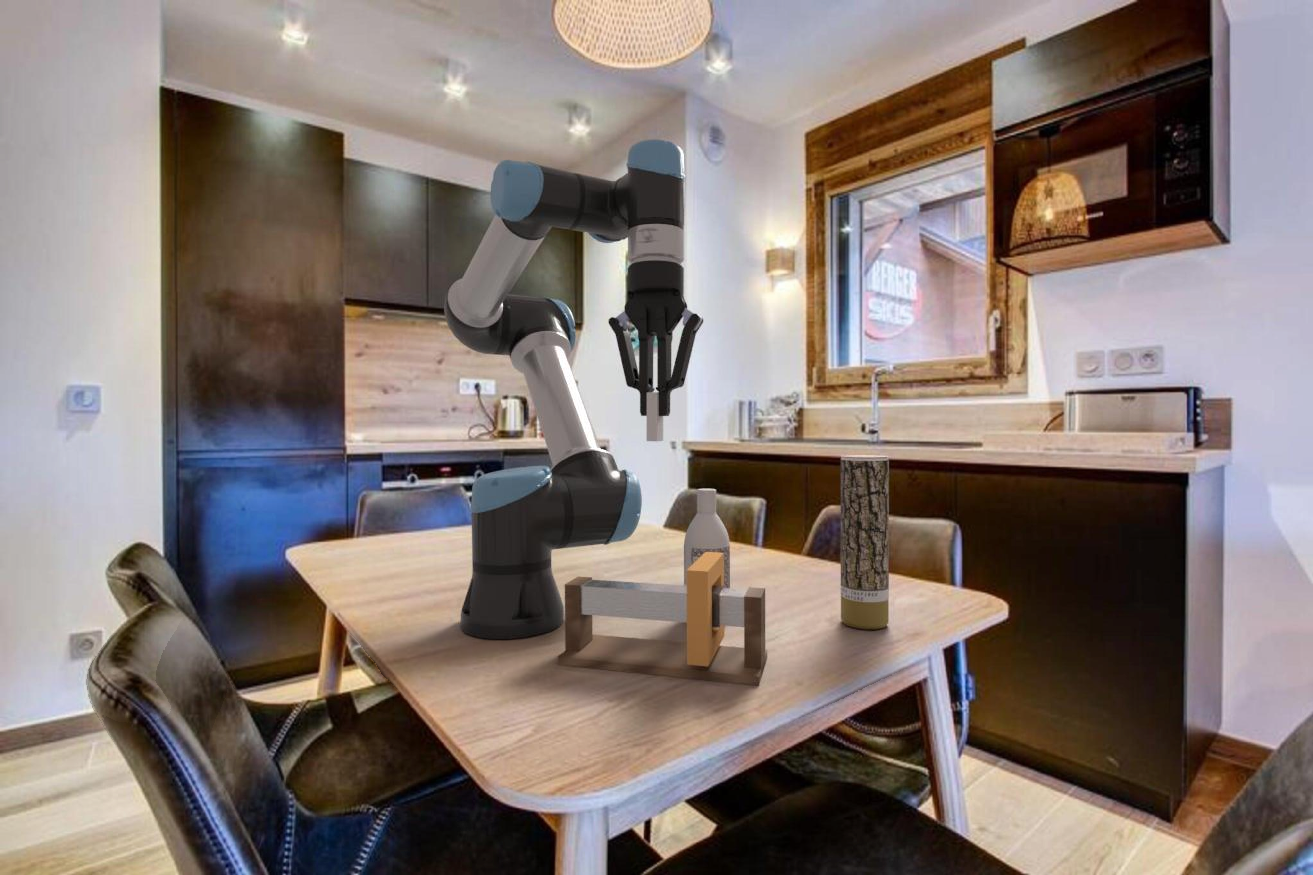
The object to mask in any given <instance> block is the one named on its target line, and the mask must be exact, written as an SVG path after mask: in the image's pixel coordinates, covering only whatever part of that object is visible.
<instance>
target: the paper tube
mask: <svg viewBox="0 0 1313 875" xmlns="http://www.w3.org/2000/svg"><path fill="white" fill-rule="evenodd" d="M889 466H890V460H889V455H878V454H877V455H873V454H871V455H870V454H858V455H857V454H856V455H855V454H852V455H850V454H847V455H841V457H840V620H841V621H842V623H843V624H844V625H846V626H849V627H851V628H854V629H860V630H869V631H870V630H881V629H883V628H885V627H886V626H887V625H888V624H889V616H890V615H889V612H890V611H889V604H890V603H889V602H890V601H889V599H890V593H889V592H890V591H889V590H890V582H889V581H890V578H889V577H890V574H889V573H890V571H889V570H890V569H889V568H890V562H889V561H890V560H889V558H890V551H889V550H890V548H889V547H890V543H889V542H890V538H889V537H890V520H889V519H890V518H889V517H890V513H889V512H890V467H889Z"/></svg>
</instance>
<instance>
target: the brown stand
mask: <svg viewBox="0 0 1313 875" xmlns="http://www.w3.org/2000/svg"><path fill="white" fill-rule="evenodd" d="M589 580H593V577H591V576H576V577H574V578H573V579H571V580H570V581H567V583H565V584H564V635H565V637H564V639H565V642H564V646H565V647H564V648H565V650H564V651H563V652H561V653H560V654H559V655H558V656H557V665H560V666H569V667H578V668H587V669H596V670H597V669H598V670H606V671H607V670H609V671H615V672H616V671H617V672H626V673H635V674H636V673H637V674H644V675H645V674H646V675H654V676H664V677H675V678H685V679H693V680H694V679H695V680H705V681H713V682H714V681H715V682H723V683H733V684H744V685H752V686H760V685H761V684H760V683H761V680H762V678H763V674H764V670H765V667H766V664H767V661H768V660H767V659H768V649H766V588H764V587H751V586H749V587H748V589H746V590H747V592H746V594H745V596H744V627H743V628H744V630H743V632H744V634H743V636H744V637H743V638H744V641H743V643H744V646H743V647H741V646H740V647H739V646H737V647H736V646H727V645H719V647H718V649H717V651H716V653H715V655H714V657H713V658H712V660H711V662H710V664H709V666H698V665H688V664H687V642H684V641H683V642H682V641H671V640H659V639H647V638H637V637H628V636H625V637H624V636H614V635H606V634H605V635H602V634H593V615H585V614H581V590H580V586H582V585H583V584H585V583H586V582H588V581H589Z"/></svg>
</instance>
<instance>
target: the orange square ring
mask: <svg viewBox="0 0 1313 875" xmlns="http://www.w3.org/2000/svg"><path fill="white" fill-rule="evenodd" d="M712 585H715V586H724V553H719V552H705V553H704V554H703V555H702V556H701V557H700V558H699V559H698V560H697V561H696V562H695V563H694V564H692V565H691V566H690V567H689V568H688V569H687V623H686V643H687V664H688V665H698V666H709V664H710V662H711V660H712V658H713V657H714V655H715V653H716V651H717V649H718V647H719V646H721V643H722V641H723V640H724V638H725V626H722V625H721V626H720V627H712Z"/></svg>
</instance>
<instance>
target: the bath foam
mask: <svg viewBox="0 0 1313 875" xmlns="http://www.w3.org/2000/svg"><path fill="white" fill-rule="evenodd" d="M705 552H719V553H724V586H725V588H731V546H730V536H729V533H728V530H727V528H726V527H725V524H724V522H723V521H722V519H721V518H720V517H719V515H718V513H717V489H715V488H698V489H696V514H695V515H694V516H693V519H692V520H691V522H690V524H689V526H688V527H687V530H686V532H685V536H684V541H683V580H684V581H683V585H684V586H687V569H688V568H689V567H690V566H691V565H692V564H694V563H695V562H696V561H697V560H698V559H699V558H700V557H701V556H702V555H703V554H704V553H705Z"/></svg>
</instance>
